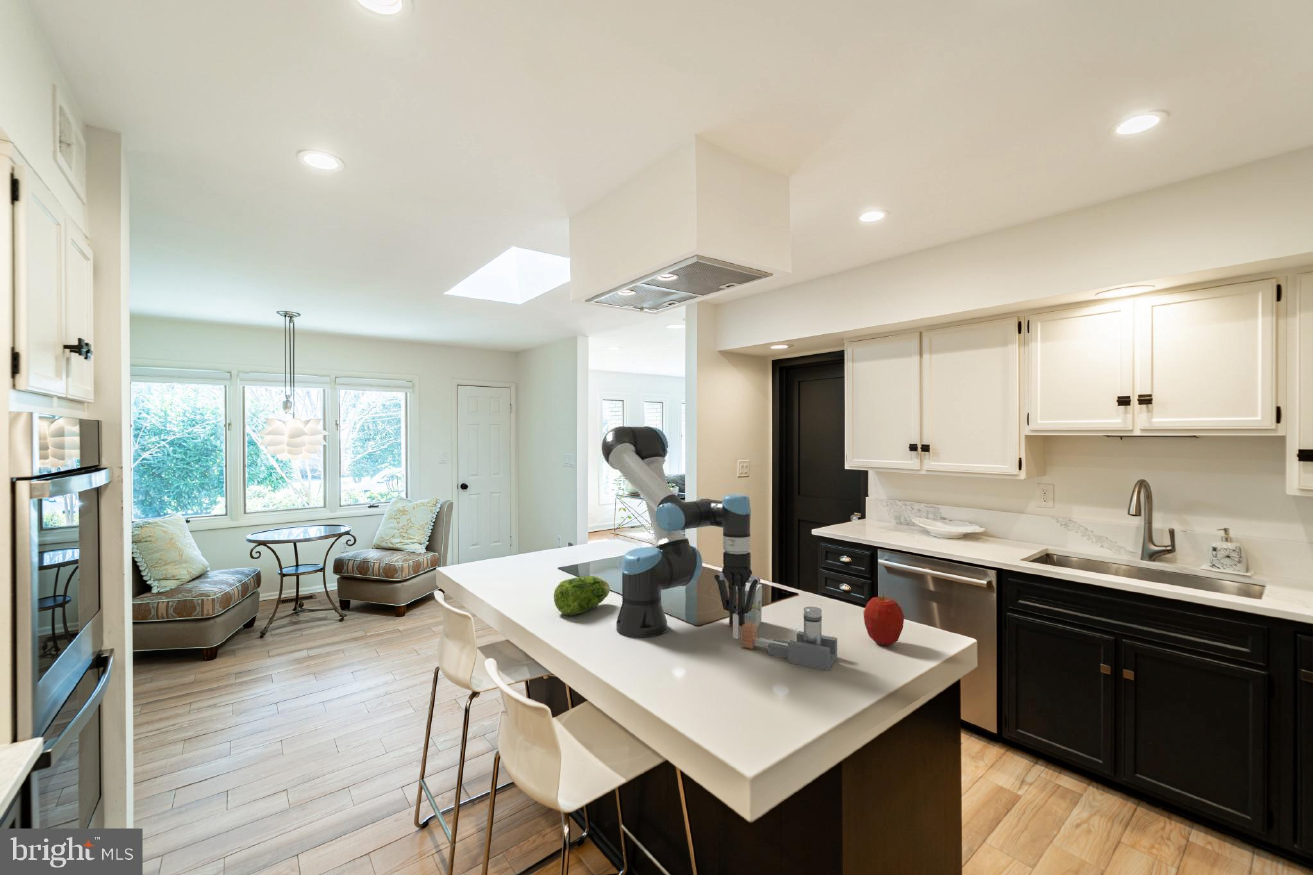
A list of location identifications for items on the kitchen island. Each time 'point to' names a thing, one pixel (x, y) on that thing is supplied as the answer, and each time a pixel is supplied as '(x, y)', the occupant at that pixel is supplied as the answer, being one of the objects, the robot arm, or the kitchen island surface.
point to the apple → (883, 620)
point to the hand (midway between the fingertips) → (737, 636)
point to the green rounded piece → (580, 594)
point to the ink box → (756, 610)
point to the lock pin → (755, 637)
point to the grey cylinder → (813, 625)
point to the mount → (807, 652)
